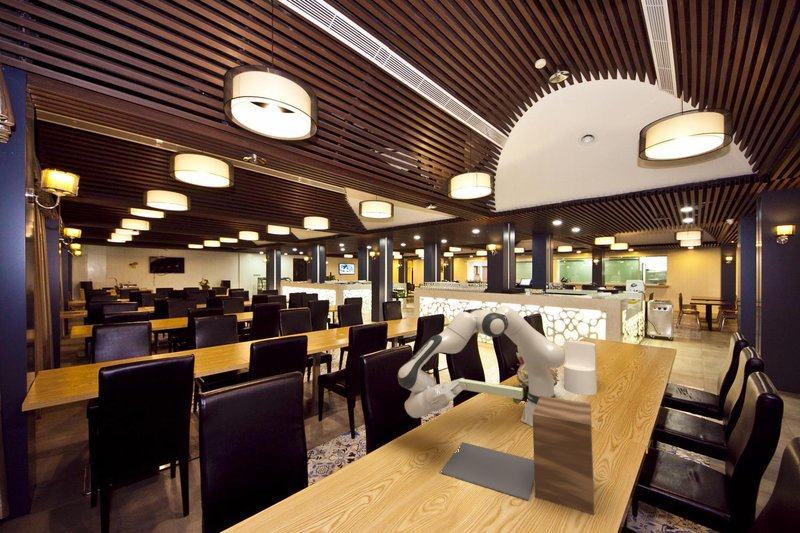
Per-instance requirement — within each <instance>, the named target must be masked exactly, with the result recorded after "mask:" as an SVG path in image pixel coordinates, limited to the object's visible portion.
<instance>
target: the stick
mask: <svg viewBox="0 0 800 533" xmlns="http://www.w3.org/2000/svg"><path fill="white" fill-rule="evenodd" d="M459 379H460V378H459ZM464 383H466V385H467V388H466V389H464V390H463V391H469V392H475V393H483V394H487V395H491V396H492V395H493V396H498V397H499V396H500V397H505V398H510V399H513V398H515V399H521V400H522V398H523V388H518V387H513V385H503V384H498V383H492V382H485V381H478V380H472V379H465V378H464V379H460V380H459V381H458V386H460V385H462V384H464Z"/></svg>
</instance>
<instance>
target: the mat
mask: <svg viewBox="0 0 800 533" xmlns="http://www.w3.org/2000/svg"><path fill="white" fill-rule="evenodd" d="M459 446H460V448H459ZM459 446H458V447H457V448H458V449H459V452H458V450H457V449H456V450H457V452H456V453H454V452H453V453H452V455H451V456H450V458H449V459H448V460H449V461H448V460H447V461H446V463H445V464H444V465H443V466H442V468H441V469H440V471H439V473H440V472H441V471H442V472H441V473H444V474H446V475H445V476H447V475H449V476H448V477H450V476H451V477H452V478H453V477H455V478H454V479H457V480H460V481H463V482H465V483H466V482H467V483H470V484H474V485H476V486H479V487H482V488H485V489H489V490H492V491H495V492H497V493H501V494H505V495H508V496H511V497H515V498H517V499H521V500H524V501H527V502H529V501H530V496H531V493H532V489H533V485H534V484H535V477H534V459H532V458H531V459H530V458H527V457H523V456H520V455H516V454H512V453H507V452H504V451H500V450H496V449H492V448H487V447H483V446H480V445H477V444H476V445H475V444H472V443H467V442H465V441H462V442H461V443H460V444H459ZM441 473H440V474H441ZM444 474H443V475H444Z"/></svg>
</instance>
